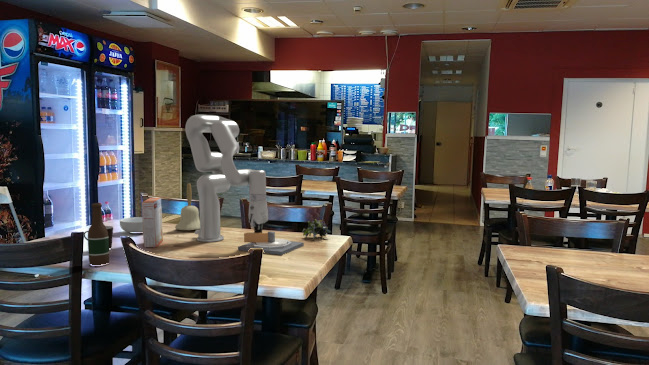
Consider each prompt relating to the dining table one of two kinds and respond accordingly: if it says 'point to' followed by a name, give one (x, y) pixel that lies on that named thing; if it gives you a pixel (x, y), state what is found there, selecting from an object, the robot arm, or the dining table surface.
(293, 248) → the dial base
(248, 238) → the dial
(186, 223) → the handbell
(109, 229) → the coffee mug
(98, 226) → the beer bottle
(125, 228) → the cereal bowl
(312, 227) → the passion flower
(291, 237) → the dining table surface
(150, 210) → the cracker box
